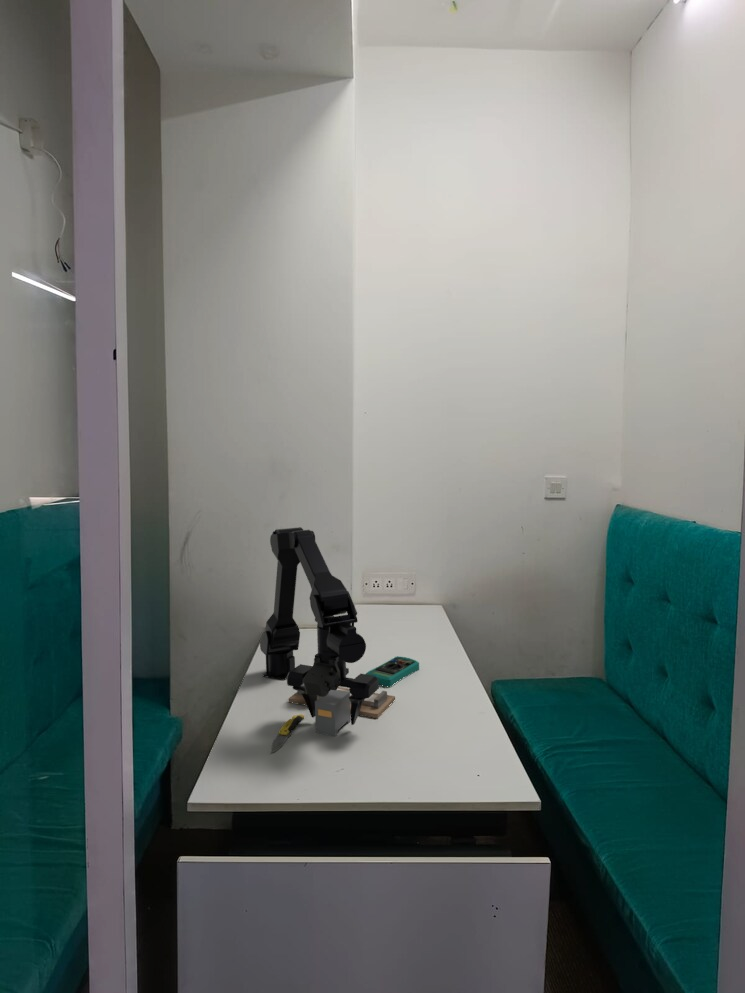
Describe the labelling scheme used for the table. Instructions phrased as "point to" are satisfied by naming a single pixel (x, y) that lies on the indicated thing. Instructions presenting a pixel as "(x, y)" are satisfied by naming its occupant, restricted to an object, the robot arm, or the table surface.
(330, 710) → the block
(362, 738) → the table surface
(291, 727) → the utility knife
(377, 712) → the din panel
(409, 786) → the table surface
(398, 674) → the digital multimeter
